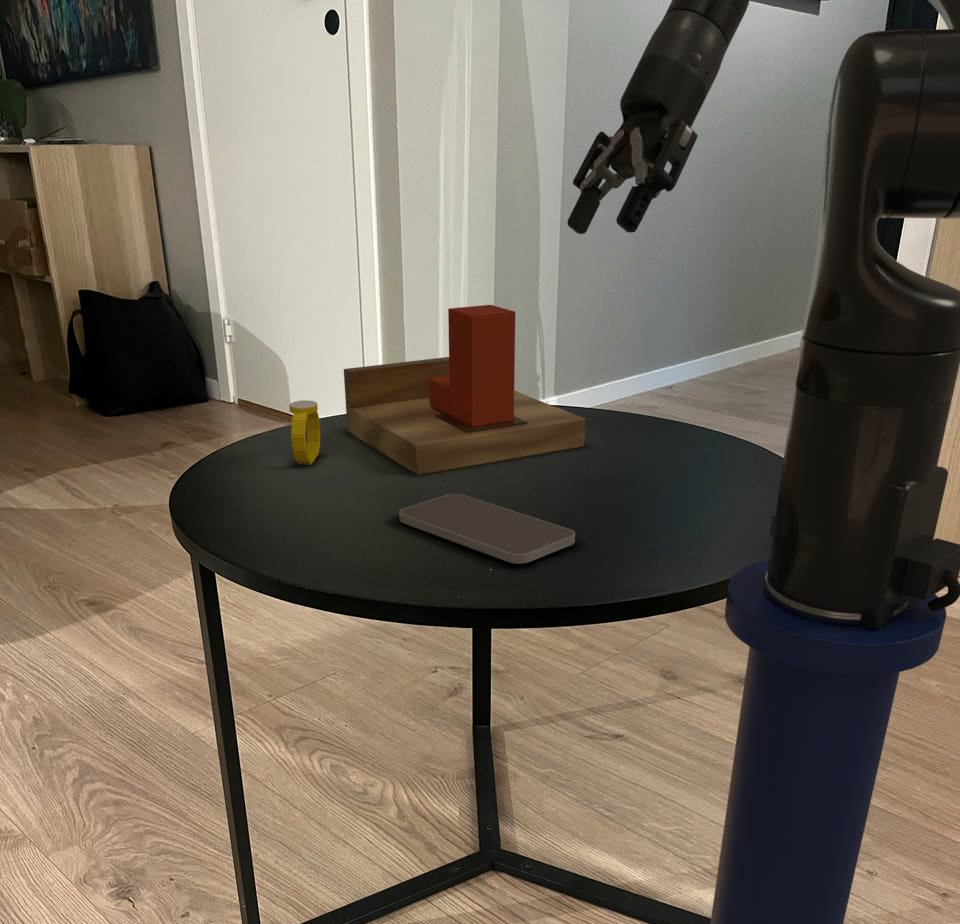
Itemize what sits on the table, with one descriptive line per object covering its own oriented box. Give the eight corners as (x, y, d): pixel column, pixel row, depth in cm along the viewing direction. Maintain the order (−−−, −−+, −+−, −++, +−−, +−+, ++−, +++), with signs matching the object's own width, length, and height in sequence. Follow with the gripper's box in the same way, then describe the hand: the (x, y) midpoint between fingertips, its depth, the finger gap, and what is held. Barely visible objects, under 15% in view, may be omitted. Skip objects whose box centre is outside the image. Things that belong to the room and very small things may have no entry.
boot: (514, 420, 103) (515, 311, 98) (472, 427, 101) (471, 315, 96) (468, 400, 111) (467, 298, 106) (428, 405, 109) (426, 301, 104)
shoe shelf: (584, 446, 106) (587, 380, 103) (417, 475, 97) (414, 404, 94) (500, 409, 120) (500, 350, 117) (347, 431, 111) (343, 368, 108)
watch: (303, 452, 104) (298, 395, 102) (328, 452, 104) (324, 396, 101) (287, 469, 99) (281, 410, 96) (313, 470, 99) (309, 411, 96)
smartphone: (455, 492, 90) (581, 532, 80) (455, 501, 90) (580, 543, 81) (393, 511, 85) (518, 557, 76) (393, 521, 86) (518, 568, 76)
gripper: (746, 92, 94) (667, 249, 95) (653, 109, 106) (584, 249, 107) (697, 39, 90) (615, 205, 91) (605, 63, 101) (534, 210, 103)
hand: (598, 229), depth 99 cm, fingers open, 8 cm apart
